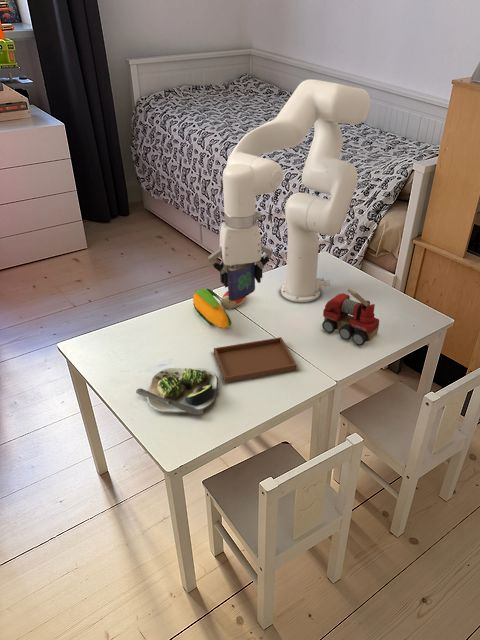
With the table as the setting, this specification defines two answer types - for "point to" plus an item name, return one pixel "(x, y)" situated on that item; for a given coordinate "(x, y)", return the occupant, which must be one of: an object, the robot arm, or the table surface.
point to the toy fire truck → (351, 318)
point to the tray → (254, 359)
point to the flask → (240, 280)
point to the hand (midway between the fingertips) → (241, 282)
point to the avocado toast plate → (182, 390)
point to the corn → (210, 308)
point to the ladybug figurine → (229, 303)
